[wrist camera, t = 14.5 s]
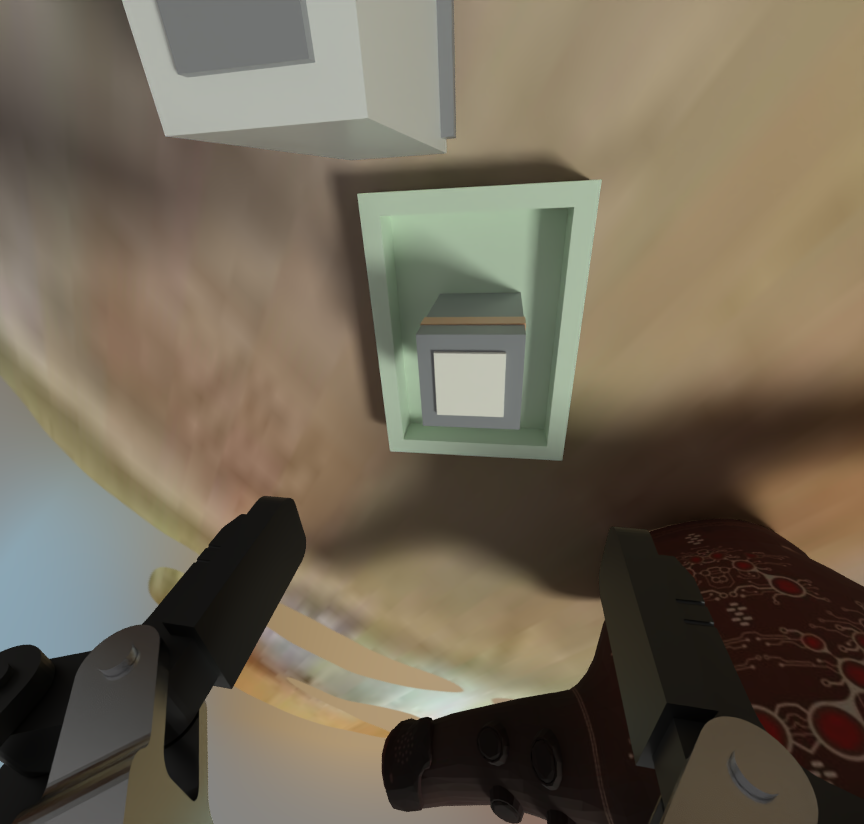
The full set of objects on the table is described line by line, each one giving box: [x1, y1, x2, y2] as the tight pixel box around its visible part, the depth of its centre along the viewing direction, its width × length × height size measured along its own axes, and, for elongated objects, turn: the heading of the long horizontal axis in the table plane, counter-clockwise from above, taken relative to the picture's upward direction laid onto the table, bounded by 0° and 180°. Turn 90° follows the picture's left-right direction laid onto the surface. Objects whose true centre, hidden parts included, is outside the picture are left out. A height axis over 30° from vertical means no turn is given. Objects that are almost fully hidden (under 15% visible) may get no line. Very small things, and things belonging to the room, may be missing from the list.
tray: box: [357, 180, 602, 461], centre depth 23 cm, size 11×15×3 cm
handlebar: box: [382, 519, 864, 824], centre depth 21 cm, size 45×13×20 cm, turn 117°
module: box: [416, 292, 526, 430], centre depth 20 cm, size 5×5×7 cm
